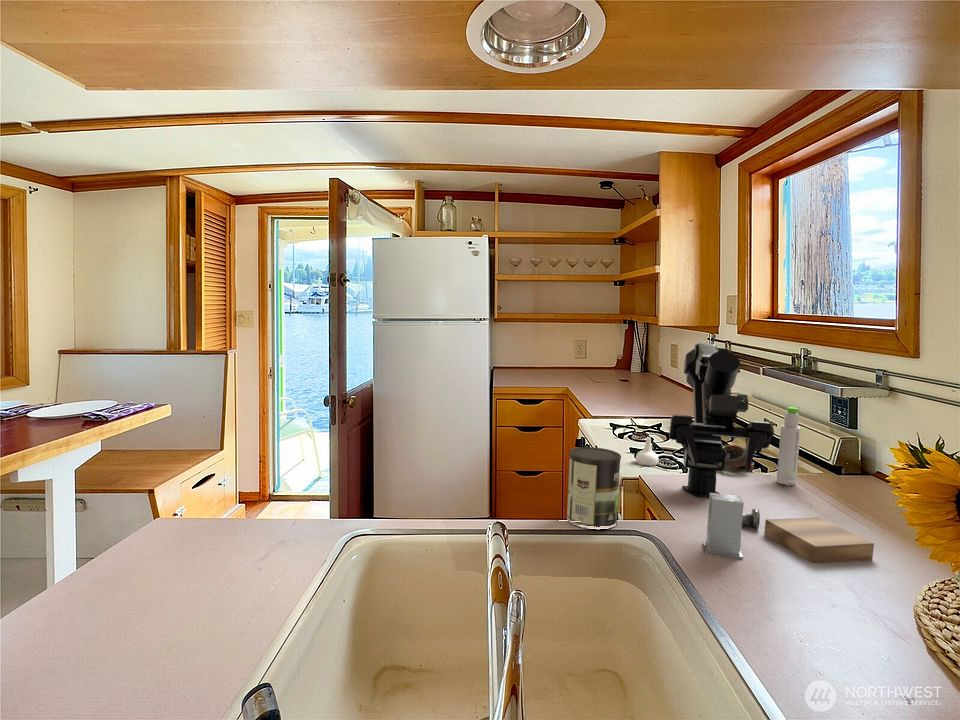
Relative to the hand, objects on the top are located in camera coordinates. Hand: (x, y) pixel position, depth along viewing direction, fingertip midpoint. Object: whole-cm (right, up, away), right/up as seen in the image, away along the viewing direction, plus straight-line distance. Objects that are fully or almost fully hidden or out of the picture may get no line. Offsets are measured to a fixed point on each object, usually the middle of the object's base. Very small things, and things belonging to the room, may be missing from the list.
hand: (721, 467), depth 99 cm
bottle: (+34, -12, +36) cm, 51 cm away
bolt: (+7, -13, +7) cm, 16 cm away
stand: (+16, -14, -3) cm, 22 cm away
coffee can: (-24, -12, +6) cm, 28 cm away
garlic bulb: (+2, -10, +50) cm, 51 cm away
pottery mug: (+25, -11, +47) cm, 55 cm away
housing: (-3, -14, -6) cm, 15 cm away
